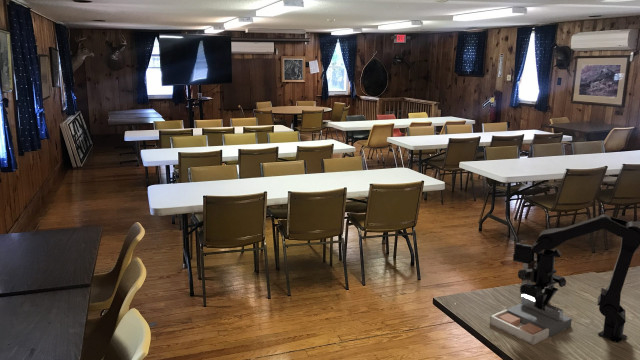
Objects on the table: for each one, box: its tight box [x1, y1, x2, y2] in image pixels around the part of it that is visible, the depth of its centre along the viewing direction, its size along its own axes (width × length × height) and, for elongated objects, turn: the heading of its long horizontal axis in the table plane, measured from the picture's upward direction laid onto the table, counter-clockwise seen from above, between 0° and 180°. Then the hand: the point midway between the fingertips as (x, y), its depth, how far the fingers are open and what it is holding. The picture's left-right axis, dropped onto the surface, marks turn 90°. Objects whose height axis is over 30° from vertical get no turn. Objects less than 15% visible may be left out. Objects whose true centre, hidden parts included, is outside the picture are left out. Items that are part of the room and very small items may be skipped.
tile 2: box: [520, 323, 542, 335], centre depth 168 cm, size 5×5×2 cm
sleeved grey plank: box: [520, 294, 564, 321], centre depth 177 cm, size 2×15×4 cm, turn 33°
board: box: [505, 303, 573, 338], centre depth 177 cm, size 13×17×3 cm
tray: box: [489, 309, 550, 346], centre depth 171 cm, size 8×17×3 cm, turn 33°
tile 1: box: [499, 313, 520, 326], centre depth 175 cm, size 5×5×2 cm
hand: (541, 307), depth 177 cm, fingers closed on sleeved grey plank, 2 cm apart
